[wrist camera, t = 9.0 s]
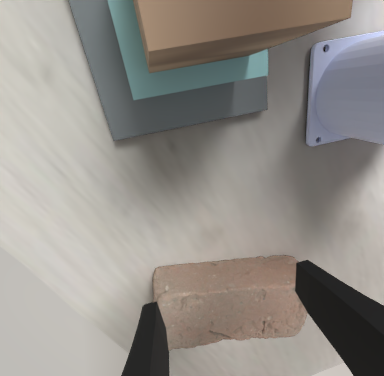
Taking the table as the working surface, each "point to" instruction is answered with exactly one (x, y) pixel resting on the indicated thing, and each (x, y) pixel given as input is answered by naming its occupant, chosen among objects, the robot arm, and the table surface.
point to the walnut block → (226, 27)
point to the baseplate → (158, 105)
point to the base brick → (181, 77)
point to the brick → (228, 300)
